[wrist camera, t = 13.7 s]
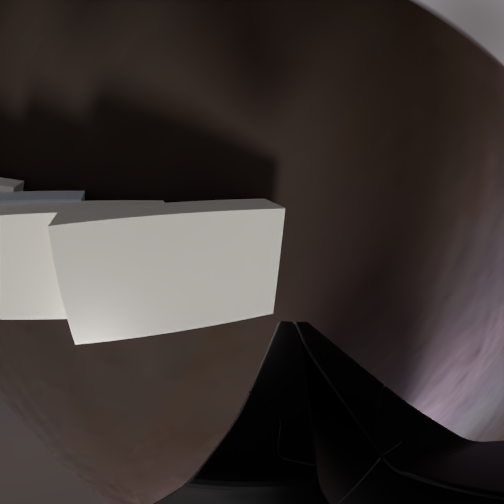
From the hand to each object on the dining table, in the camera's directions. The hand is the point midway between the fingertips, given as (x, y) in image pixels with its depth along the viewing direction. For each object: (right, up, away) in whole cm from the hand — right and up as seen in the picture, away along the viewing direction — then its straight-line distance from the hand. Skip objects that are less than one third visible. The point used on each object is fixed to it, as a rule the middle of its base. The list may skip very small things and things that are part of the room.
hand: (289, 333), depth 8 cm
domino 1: (0, +2, +5) cm, 6 cm away
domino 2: (-5, +2, +5) cm, 8 cm away
